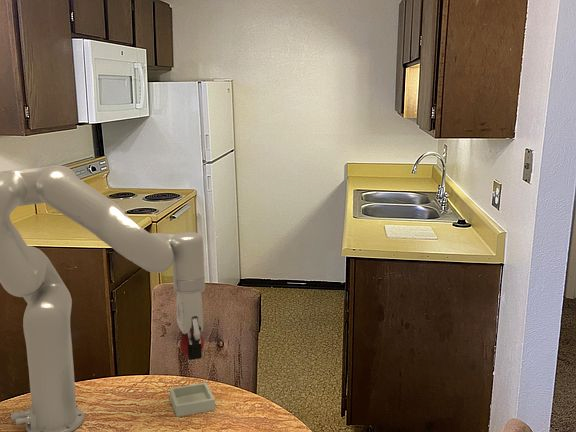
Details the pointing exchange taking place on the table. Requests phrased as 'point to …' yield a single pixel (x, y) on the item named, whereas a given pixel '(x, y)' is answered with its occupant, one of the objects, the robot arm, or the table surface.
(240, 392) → the table surface
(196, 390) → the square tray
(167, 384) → the table surface
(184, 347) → the onion
